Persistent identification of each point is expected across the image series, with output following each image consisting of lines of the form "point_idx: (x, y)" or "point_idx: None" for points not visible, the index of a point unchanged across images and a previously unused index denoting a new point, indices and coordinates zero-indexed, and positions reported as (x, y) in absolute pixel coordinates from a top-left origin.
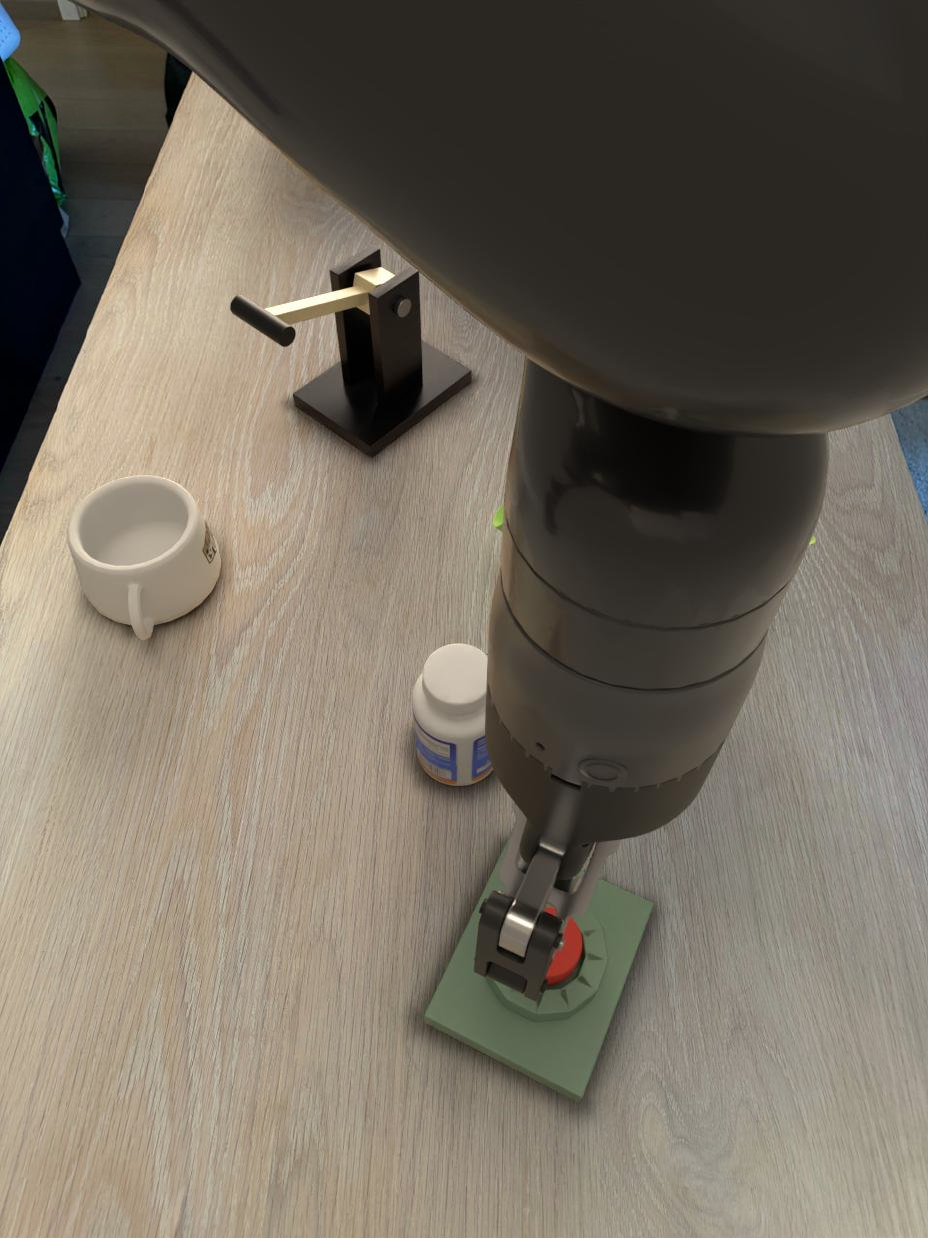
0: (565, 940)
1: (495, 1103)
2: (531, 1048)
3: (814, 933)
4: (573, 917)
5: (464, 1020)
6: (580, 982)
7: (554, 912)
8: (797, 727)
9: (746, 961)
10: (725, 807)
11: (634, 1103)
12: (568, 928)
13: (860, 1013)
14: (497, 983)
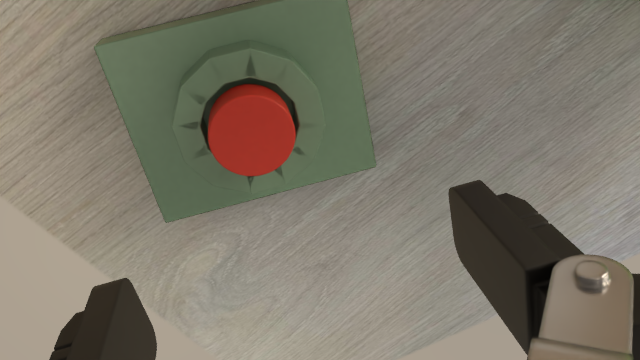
0: (267, 152)
1: (104, 150)
2: (163, 160)
3: (438, 269)
4: (302, 128)
5: (128, 88)
6: (246, 176)
7: (286, 123)
8: (632, 156)
9: (381, 242)
10: (513, 149)
11: (206, 240)
12: (281, 146)
13: (396, 322)
14: (177, 107)
